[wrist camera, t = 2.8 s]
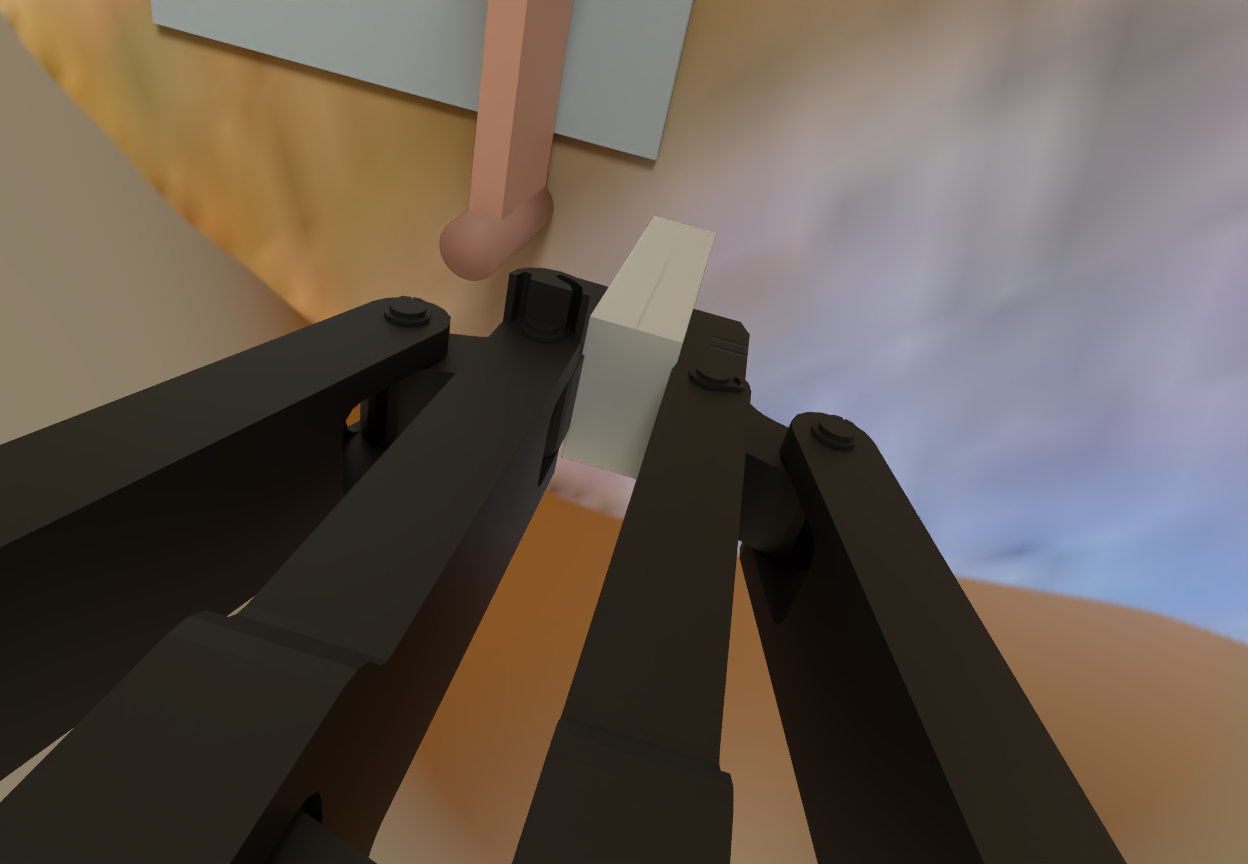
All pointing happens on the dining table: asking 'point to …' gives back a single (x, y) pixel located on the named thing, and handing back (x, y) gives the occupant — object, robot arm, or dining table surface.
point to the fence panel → (511, 135)
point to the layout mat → (468, 52)
